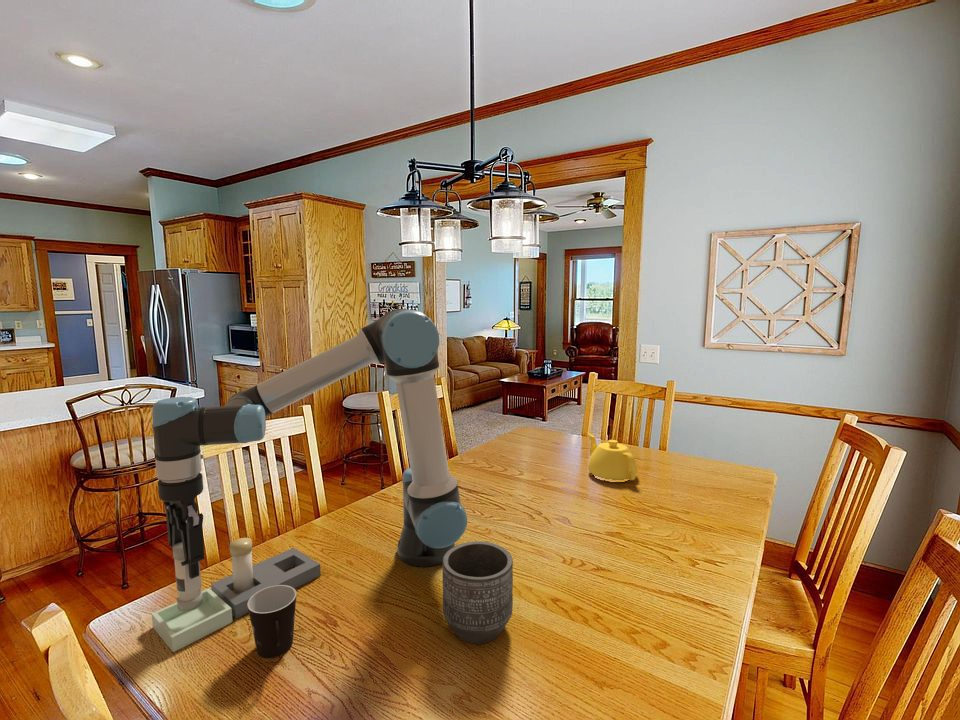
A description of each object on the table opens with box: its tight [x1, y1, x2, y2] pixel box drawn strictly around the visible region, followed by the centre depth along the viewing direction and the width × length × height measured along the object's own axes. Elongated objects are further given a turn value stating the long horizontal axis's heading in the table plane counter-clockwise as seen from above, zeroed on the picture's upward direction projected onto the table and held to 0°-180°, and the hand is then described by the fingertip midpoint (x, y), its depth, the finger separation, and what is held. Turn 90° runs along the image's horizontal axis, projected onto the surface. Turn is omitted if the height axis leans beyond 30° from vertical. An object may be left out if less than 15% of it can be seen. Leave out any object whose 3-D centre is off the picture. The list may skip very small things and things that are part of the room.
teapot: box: [587, 432, 638, 481], centre depth 181 cm, size 25×18×14 cm
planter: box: [442, 540, 514, 645], centre depth 97 cm, size 14×14×15 cm
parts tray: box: [151, 587, 233, 653], centre depth 98 cm, size 11×11×3 cm
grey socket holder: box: [210, 537, 322, 619], centre depth 111 cm, size 12×20×13 cm, turn 141°
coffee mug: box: [247, 585, 297, 659], centre depth 90 cm, size 12×9×10 cm
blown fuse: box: [172, 541, 203, 612], centre depth 97 cm, size 4×4×13 cm
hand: (188, 585), depth 97 cm, fingers closed on blown fuse, 4 cm apart
